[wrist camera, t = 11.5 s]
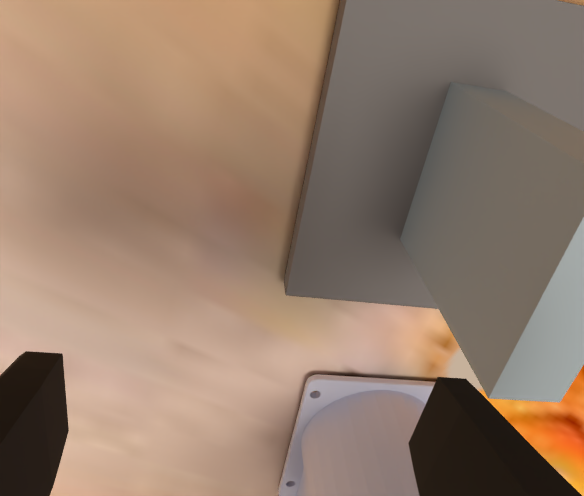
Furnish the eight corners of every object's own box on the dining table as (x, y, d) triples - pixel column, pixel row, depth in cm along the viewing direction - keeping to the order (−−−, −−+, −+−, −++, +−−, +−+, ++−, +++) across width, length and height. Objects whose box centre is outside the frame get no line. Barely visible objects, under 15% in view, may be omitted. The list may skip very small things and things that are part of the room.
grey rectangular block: (447, 244, 19) (559, 402, 13) (399, 239, 19) (488, 398, 12) (506, 91, 16) (694, 189, 10) (451, 81, 16) (604, 176, 9)
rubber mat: (498, 301, 23) (508, 315, 22) (283, 281, 21) (285, 295, 20) (633, 17, 17) (655, 20, 16) (348, -42, 15) (355, -42, 14)
